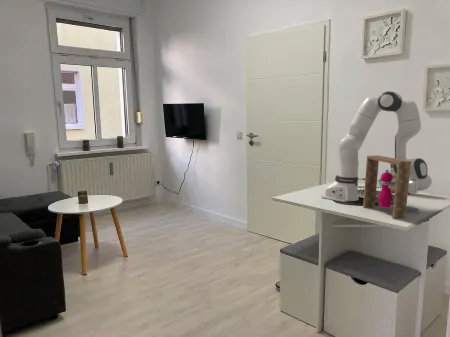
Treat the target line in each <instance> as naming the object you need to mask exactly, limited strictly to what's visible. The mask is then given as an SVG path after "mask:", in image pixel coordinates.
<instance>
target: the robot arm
mask: <svg viewBox="0 0 450 337" xmlns="http://www.w3.org/2000/svg"><path fill="white" fill-rule="evenodd" d="M382 111H385V112H391V113H392V112H393V113H395V115H396V117H397V127H398V128H397V132H396V134H395V136H394V158H395V159H400V160H406V161H411V166H410V176H409V186H408V192H411V193H410V194H412V193H413V194H417V193H418V192H420V191H424V190H427V189H429V188H430V187H431V185H432V183H433V181H432V178H431V176H430V175H429V173H428V171H429V170H428V165H427V164H428V163H427V162H426V161H425V160H424V159H422V158H420V157H419V158H410V159H407V143H408V142H409V140H411V139H412V138H414V137H415V136H417V135H418V134H419V132H420V131H421V129H422V124H421V123H422V122H421V116H420V112H419V108H418V105H417V103H416V102H415V101H413V100H403V98H402V96H401V95H400V94H399V93H398V92H395V91H389V90H388V91H384V92H381V94H380V95H379V96H378V97H374V96H368V97H366V98H365V99H364V100H363V102H362V103H361V105H360V106H359V108H358V110H357V111H356V113H355V115H354V117H353V119H352V121H351V122H350V124H349V125H350V126H349V128H348V130H347V132H346V134H345V136H344V137H343V138H342V139H340V141H339V143H338V157H339V158H338V159H339V164H338V165H339V167H338V174H336V175H335V177H334V180H335V181H333V182H331V183H330V184H328V185H327V186H326V187H325V190H324V192H322V193H321V194H320V198H322V199H327V200H332V201H337V202H344V203H345V202H356V201H359V199H360V198H359V193H358V192H359V191H358V185H359V150H360V149H361V148H362V145H363V144H364V141H365V140H366V138H367V135H368V133H369V132H370V130H371V128H372V126H373V124H374V122H375V121H376V118H377V117H378V115H379V113H380V112H382ZM394 172H395V173H396V174H397V164H394ZM391 182H392V183H391V185H389V187H388V188H390V189H395V186H396V179H393V180H392V181H391ZM381 183H382V180H381V177H380V178H379V181H378V185H379V187H382V184H381Z"/></svg>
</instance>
